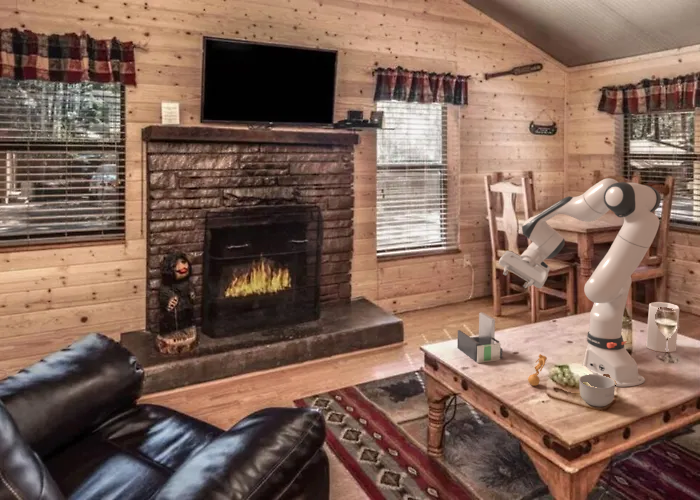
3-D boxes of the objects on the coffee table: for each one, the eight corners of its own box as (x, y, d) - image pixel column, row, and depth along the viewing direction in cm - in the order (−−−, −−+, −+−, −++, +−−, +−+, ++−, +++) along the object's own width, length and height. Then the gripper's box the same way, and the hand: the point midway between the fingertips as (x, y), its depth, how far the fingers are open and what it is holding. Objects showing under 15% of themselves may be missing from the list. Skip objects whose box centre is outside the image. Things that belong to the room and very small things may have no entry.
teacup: (611, 413, 167) (612, 390, 166) (575, 405, 173) (576, 382, 172) (616, 395, 179) (618, 374, 177) (582, 388, 185) (583, 367, 183)
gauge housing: (504, 359, 212) (505, 340, 210) (478, 363, 208) (478, 344, 207) (482, 344, 228) (482, 327, 227) (457, 347, 225) (457, 330, 224)
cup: (650, 341, 227) (654, 300, 224) (679, 347, 219) (683, 305, 216) (641, 348, 220) (644, 305, 216) (670, 355, 212) (675, 311, 208)
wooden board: (499, 355, 211) (500, 322, 208) (496, 355, 211) (497, 322, 208) (481, 343, 225) (482, 312, 222) (478, 343, 224) (479, 312, 222)
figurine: (526, 380, 193) (527, 349, 190) (543, 380, 192) (544, 350, 189) (529, 390, 185) (531, 358, 182) (547, 391, 184) (549, 359, 181)
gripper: (510, 244, 222) (494, 261, 215) (553, 269, 215) (539, 288, 207) (505, 254, 227) (490, 271, 219) (548, 279, 219) (533, 298, 212)
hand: (514, 280), depth 213 cm, fingers open, 8 cm apart
